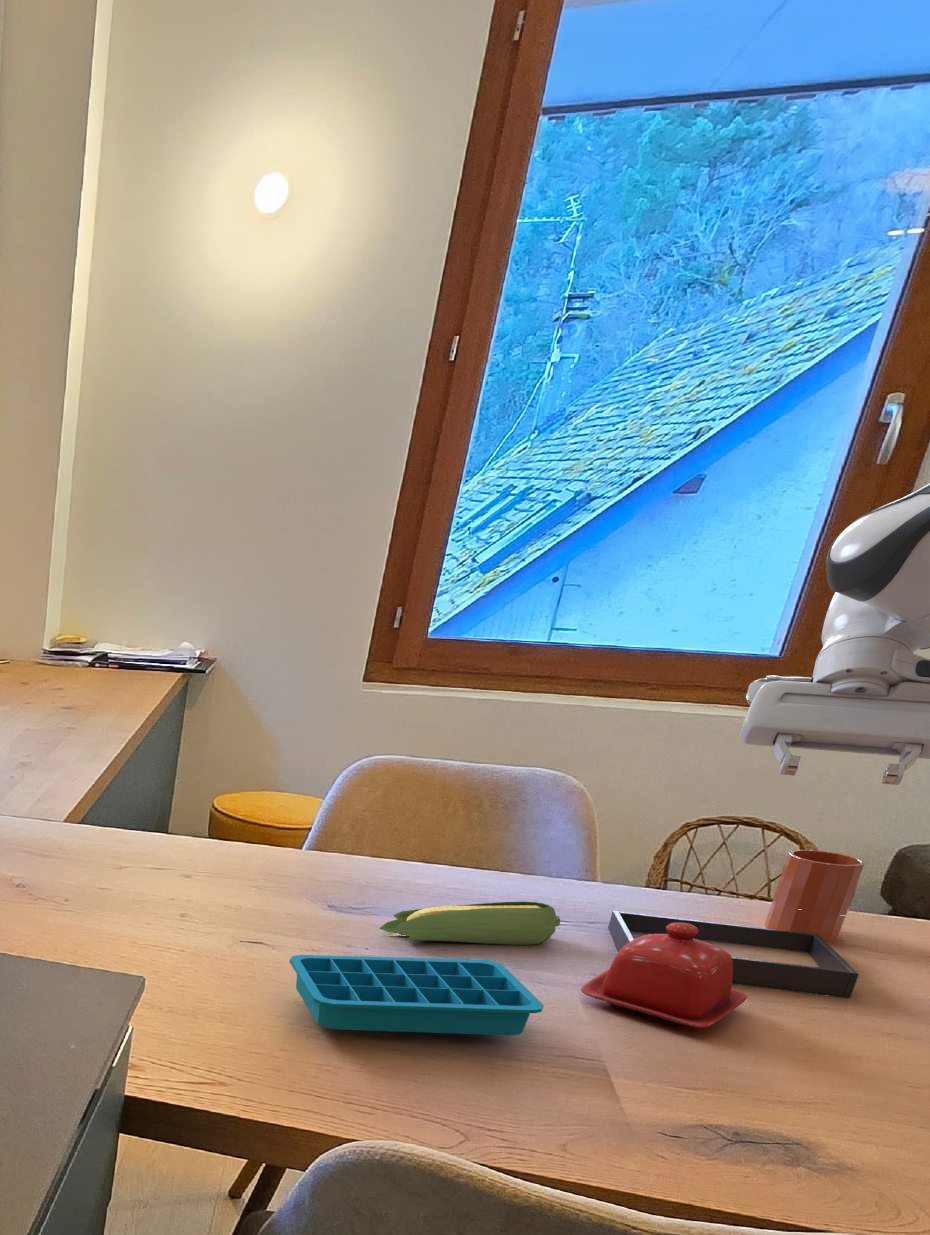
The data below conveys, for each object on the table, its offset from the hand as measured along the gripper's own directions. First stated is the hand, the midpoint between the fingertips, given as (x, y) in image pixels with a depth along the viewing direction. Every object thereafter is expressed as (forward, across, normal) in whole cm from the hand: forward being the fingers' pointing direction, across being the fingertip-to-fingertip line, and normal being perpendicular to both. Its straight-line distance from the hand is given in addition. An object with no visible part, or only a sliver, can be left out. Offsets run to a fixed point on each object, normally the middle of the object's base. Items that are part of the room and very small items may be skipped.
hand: (839, 776), depth 137 cm
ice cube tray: (+55, -33, -31) cm, 71 cm away
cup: (+21, 0, +3) cm, 21 cm away
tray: (+31, -8, -7) cm, 33 cm away
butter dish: (+43, -13, -19) cm, 49 cm away
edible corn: (+36, -32, -12) cm, 50 cm away
